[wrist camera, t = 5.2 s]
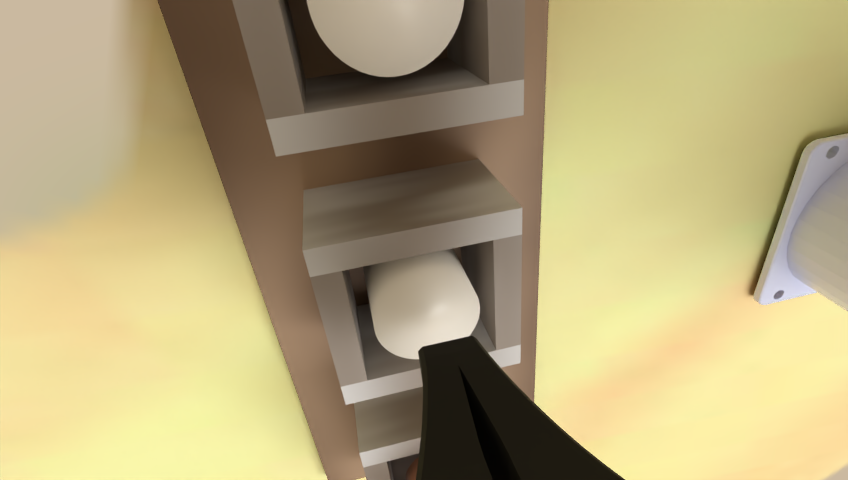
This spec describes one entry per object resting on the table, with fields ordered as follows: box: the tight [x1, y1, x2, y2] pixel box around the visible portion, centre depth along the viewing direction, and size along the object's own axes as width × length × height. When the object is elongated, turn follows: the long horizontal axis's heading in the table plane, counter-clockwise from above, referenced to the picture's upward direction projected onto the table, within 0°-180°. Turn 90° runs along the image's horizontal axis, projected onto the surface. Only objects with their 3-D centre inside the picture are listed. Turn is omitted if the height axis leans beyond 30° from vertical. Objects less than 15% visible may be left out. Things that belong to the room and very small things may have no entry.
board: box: [158, 0, 549, 480], centre depth 15 cm, size 10×24×4 cm, turn 6°
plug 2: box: [363, 248, 480, 359], centre depth 14 cm, size 3×3×3 cm
